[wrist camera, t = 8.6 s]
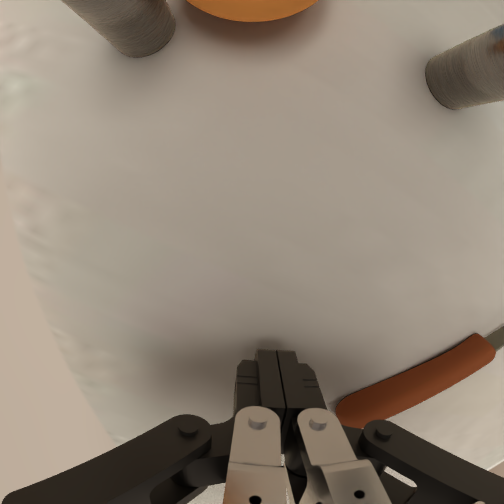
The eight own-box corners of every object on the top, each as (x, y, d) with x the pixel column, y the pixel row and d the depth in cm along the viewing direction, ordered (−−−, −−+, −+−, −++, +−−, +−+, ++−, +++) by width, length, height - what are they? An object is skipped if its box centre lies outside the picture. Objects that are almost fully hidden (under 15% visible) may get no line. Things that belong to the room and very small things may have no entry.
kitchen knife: (335, 414, 15) (344, 440, 13) (329, 397, 15) (339, 423, 13) (545, 296, 14) (564, 307, 12) (546, 278, 14) (566, 288, 12)
